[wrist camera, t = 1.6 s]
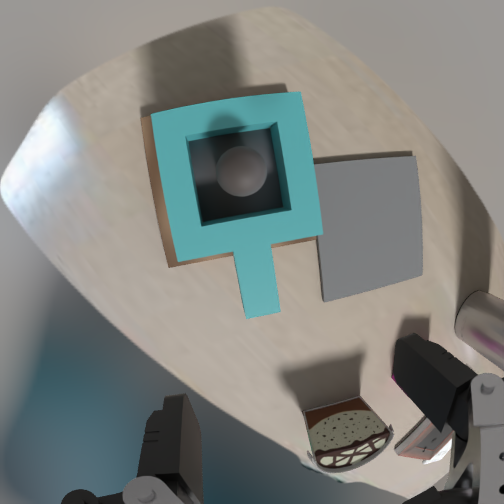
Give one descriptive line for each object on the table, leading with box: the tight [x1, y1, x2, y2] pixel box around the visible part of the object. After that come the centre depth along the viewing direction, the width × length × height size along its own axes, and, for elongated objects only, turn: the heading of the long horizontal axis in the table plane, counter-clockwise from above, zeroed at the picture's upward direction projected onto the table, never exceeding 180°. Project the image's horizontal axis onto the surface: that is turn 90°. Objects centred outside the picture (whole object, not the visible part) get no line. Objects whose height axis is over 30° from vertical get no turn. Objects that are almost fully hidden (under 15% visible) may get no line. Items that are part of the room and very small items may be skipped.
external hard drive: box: [422, 439, 452, 464], centre depth 50 cm, size 2×8×12 cm
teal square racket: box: [151, 92, 323, 319], centre depth 20 cm, size 10×15×2 cm, turn 9°
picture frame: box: [395, 418, 454, 460], centre depth 46 cm, size 16×2×22 cm
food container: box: [303, 396, 394, 473], centre depth 36 cm, size 12×6×10 cm, turn 96°
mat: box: [314, 156, 423, 302], centre depth 34 cm, size 15×16×1 cm
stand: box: [141, 115, 316, 268], centre depth 23 cm, size 16×16×16 cm
